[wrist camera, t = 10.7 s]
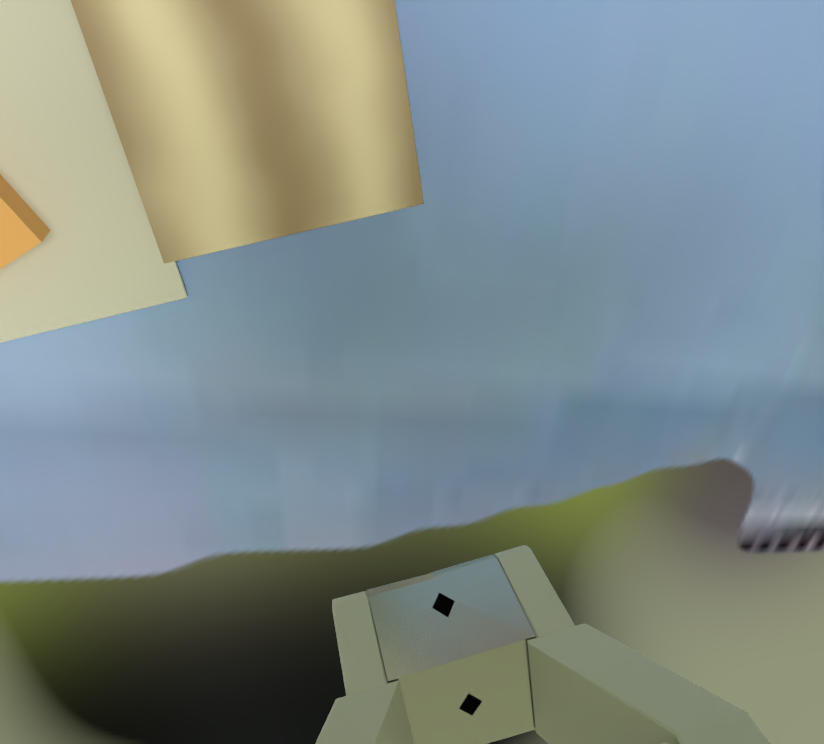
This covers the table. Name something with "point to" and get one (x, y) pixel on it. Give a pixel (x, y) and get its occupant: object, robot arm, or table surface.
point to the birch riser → (255, 114)
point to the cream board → (69, 183)
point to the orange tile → (17, 225)
